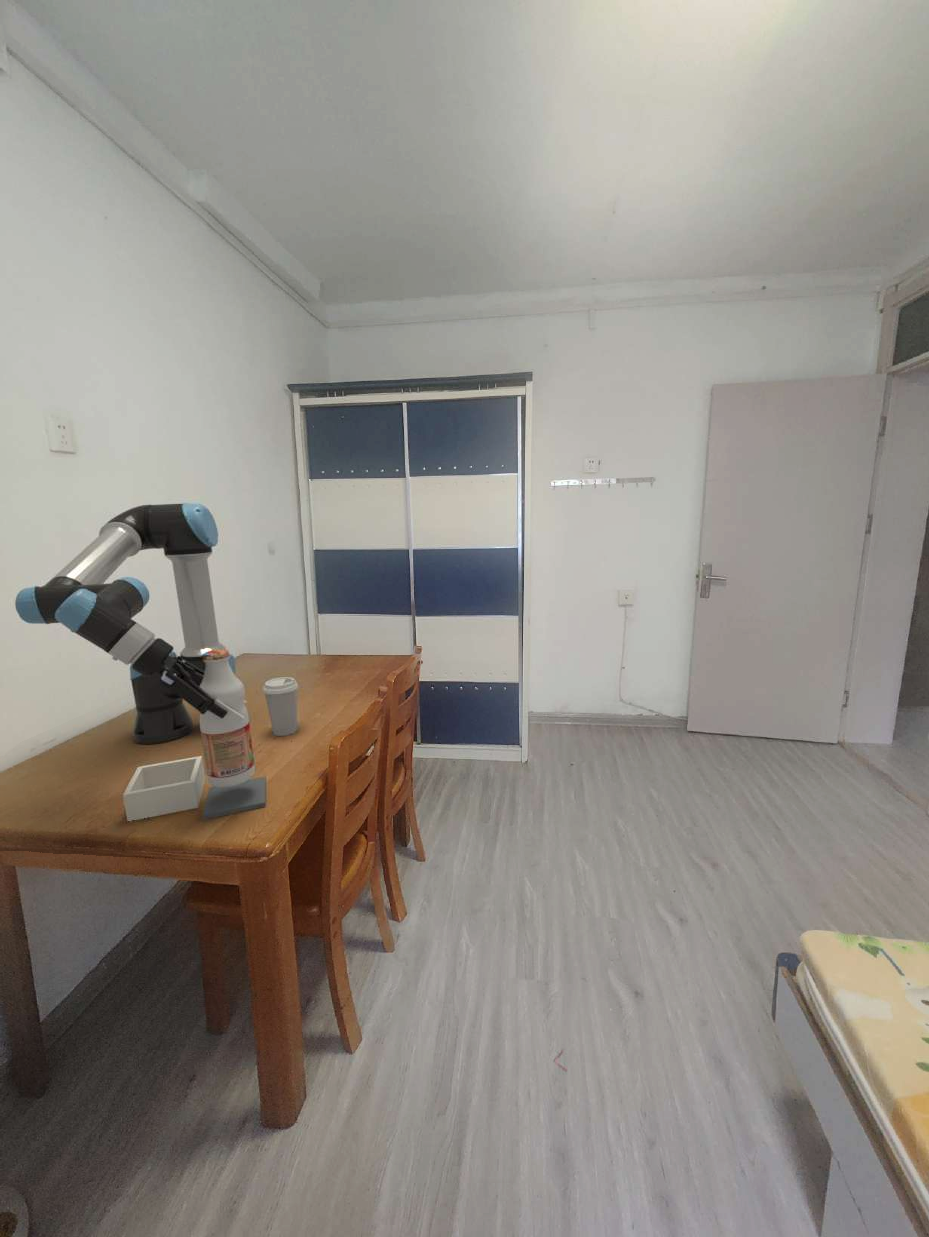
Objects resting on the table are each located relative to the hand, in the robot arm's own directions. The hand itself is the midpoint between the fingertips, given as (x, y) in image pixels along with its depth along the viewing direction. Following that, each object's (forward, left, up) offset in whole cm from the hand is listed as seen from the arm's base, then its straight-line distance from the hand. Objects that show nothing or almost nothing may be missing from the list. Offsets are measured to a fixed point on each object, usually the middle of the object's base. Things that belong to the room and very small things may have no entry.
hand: (240, 714), depth 109 cm
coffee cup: (-34, +8, -19) cm, 40 cm away
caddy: (-6, -17, -19) cm, 26 cm away
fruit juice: (0, -3, -14) cm, 14 cm away
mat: (0, -3, -19) cm, 19 cm away
